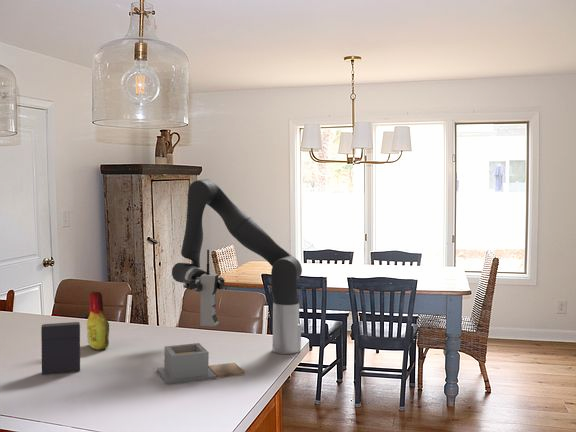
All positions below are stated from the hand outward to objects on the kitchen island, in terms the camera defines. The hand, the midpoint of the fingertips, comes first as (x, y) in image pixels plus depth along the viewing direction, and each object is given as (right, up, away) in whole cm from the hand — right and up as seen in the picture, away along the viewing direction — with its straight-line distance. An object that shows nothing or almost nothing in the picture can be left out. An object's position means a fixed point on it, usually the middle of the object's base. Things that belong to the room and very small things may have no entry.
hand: (211, 287), depth 187 cm
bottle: (-43, -24, +19) cm, 53 cm away
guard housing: (-6, -26, -10) cm, 28 cm away
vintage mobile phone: (-1, -13, +3) cm, 13 cm away
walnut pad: (+5, -26, -6) cm, 27 cm away
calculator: (-45, -25, -8) cm, 53 cm away
